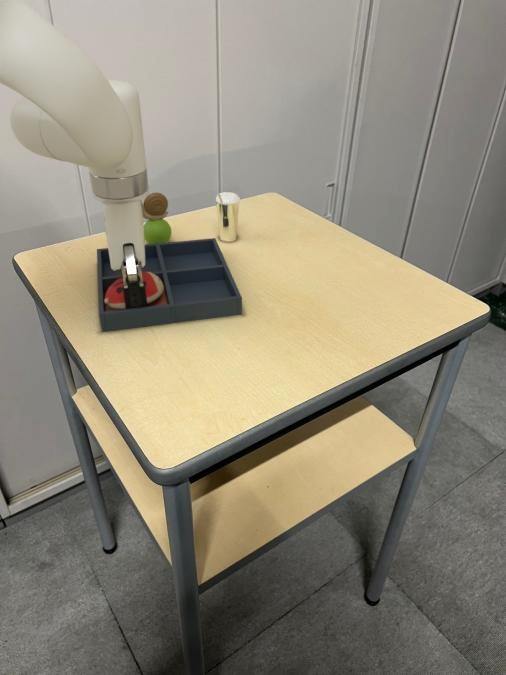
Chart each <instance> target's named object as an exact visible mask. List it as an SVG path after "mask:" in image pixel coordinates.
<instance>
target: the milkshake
mask: <svg viewBox="0 0 506 675" xmlns="http://www.w3.org/2000/svg"><path fill="white" fill-rule="evenodd" d="M240 202H241V198H240V196H239V195H238V194H237V193H235V192H232V191H230V192H229V191H223V192H220V193H218V194H217V195H216V197H215V204H216V205H215V206H216V212H217V221H218V232H219V238H220V240H221V241H222V242H228V243H229V242H234V241H235V240H237V237H238V236H237V233H238V221H239V210H240Z"/></svg>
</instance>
